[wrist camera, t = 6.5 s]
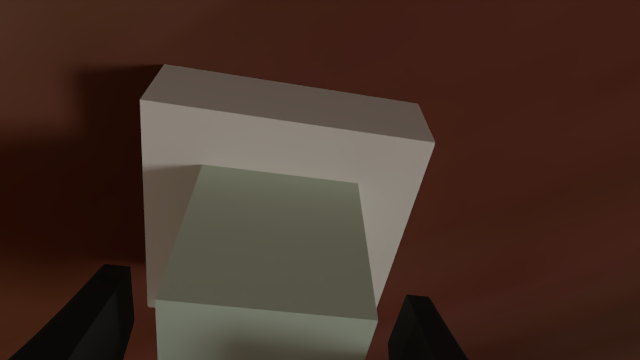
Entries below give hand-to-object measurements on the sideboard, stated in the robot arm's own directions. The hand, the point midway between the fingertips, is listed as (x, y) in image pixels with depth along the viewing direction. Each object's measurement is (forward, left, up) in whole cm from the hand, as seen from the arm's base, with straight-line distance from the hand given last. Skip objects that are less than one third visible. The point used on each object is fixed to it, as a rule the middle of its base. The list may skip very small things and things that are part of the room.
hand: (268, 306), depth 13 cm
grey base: (0, 0, -6) cm, 6 cm away
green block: (0, 0, -3) cm, 3 cm away
